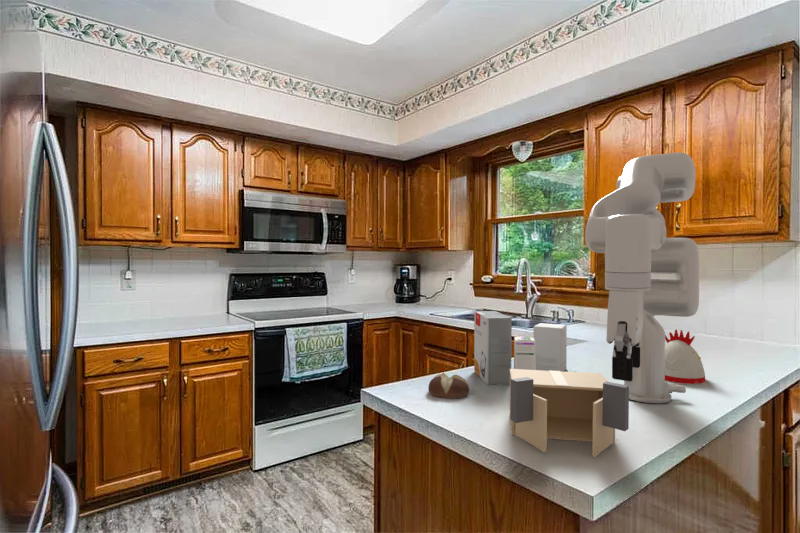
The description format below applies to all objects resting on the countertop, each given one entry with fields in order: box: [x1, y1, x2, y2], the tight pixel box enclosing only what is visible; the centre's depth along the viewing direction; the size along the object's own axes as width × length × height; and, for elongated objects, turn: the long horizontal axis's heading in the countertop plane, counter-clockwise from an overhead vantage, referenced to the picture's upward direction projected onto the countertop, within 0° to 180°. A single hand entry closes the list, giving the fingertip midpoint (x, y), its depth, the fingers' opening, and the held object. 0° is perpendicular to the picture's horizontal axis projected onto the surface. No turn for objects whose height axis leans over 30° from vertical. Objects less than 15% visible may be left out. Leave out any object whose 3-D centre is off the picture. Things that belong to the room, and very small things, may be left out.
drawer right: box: [592, 381, 630, 457], centre depth 82 cm, size 9×4×13 cm, turn 134°
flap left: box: [509, 377, 548, 453], centre depth 86 cm, size 9×4×13 cm, turn 22°
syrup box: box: [513, 336, 536, 370], centre depth 124 cm, size 6×6×14 cm
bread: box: [428, 372, 470, 399], centre depth 121 cm, size 11×11×5 cm
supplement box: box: [532, 322, 568, 372], centre depth 145 cm, size 9×9×15 cm
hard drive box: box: [473, 310, 513, 386], centre depth 135 cm, size 16×8×20 cm, turn 5°
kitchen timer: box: [665, 329, 706, 385], centre depth 137 cm, size 14×14×15 cm
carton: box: [509, 368, 616, 444], centre depth 95 cm, size 20×12×11 cm, turn 78°
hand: (626, 372), depth 82 cm, fingers open, 9 cm apart
